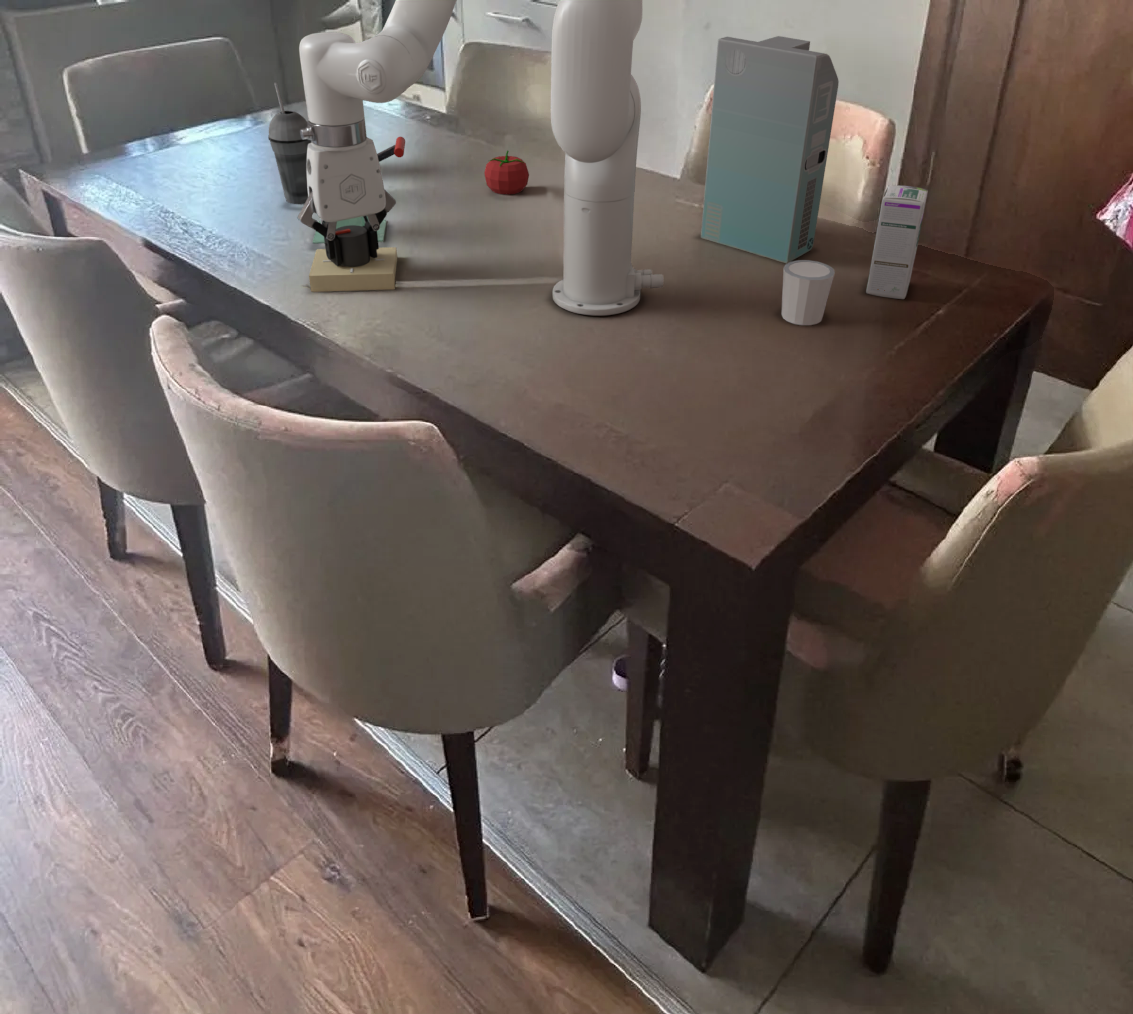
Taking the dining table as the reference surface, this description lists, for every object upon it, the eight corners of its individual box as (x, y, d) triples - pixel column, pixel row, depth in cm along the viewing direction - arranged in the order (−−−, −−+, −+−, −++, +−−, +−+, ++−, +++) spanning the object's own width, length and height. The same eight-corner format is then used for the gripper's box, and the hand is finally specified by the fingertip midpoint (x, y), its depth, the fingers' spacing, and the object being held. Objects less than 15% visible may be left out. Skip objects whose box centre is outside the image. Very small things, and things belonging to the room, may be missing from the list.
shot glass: (816, 331, 138) (824, 283, 134) (769, 319, 141) (775, 271, 137) (833, 313, 143) (842, 266, 138) (787, 302, 145) (794, 255, 141)
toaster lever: (408, 146, 159) (400, 132, 158) (407, 157, 155) (399, 143, 153) (341, 180, 162) (333, 166, 160) (338, 192, 157) (329, 178, 155)
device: (813, 249, 161) (845, 47, 144) (788, 263, 157) (817, 56, 139) (726, 224, 170) (746, 30, 152) (699, 237, 165) (717, 38, 148)
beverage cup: (312, 213, 173) (294, 90, 161) (272, 210, 174) (251, 87, 162) (328, 198, 179) (312, 78, 167) (289, 195, 180) (271, 76, 168)
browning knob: (362, 252, 153) (358, 221, 150) (375, 262, 149) (372, 231, 146) (332, 258, 150) (328, 227, 148) (344, 269, 147) (340, 237, 144)
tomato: (519, 204, 177) (518, 159, 173) (478, 198, 179) (476, 154, 175) (535, 189, 183) (535, 146, 179) (495, 184, 185) (493, 141, 181)
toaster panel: (397, 262, 156) (396, 246, 154) (394, 289, 148) (393, 272, 146) (318, 264, 155) (316, 248, 153) (311, 292, 147) (308, 274, 145)
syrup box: (905, 300, 146) (927, 201, 138) (863, 294, 148) (882, 195, 139) (909, 285, 151) (930, 188, 142) (868, 279, 152) (887, 183, 144)
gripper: (288, 149, 133) (308, 280, 143) (406, 130, 140) (417, 255, 151) (268, 135, 138) (289, 262, 148) (383, 117, 145) (395, 239, 156)
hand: (353, 257), depth 150 cm, fingers closed on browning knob, 4 cm apart
